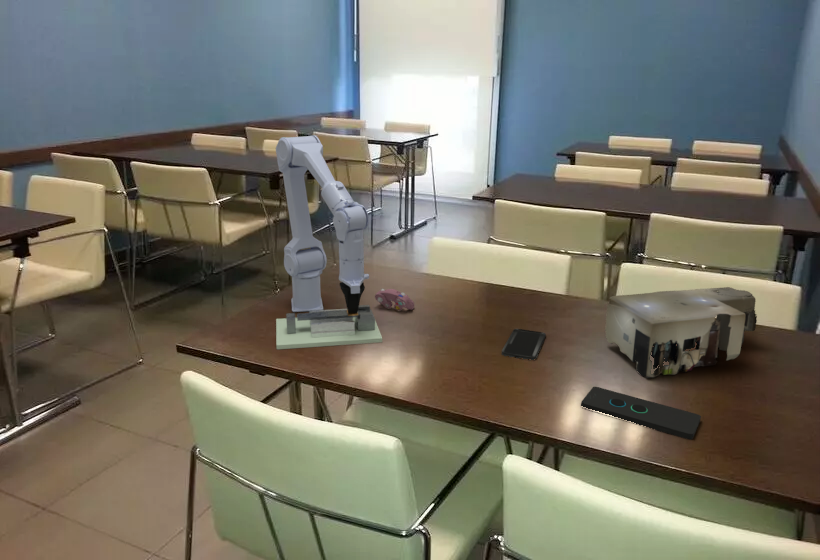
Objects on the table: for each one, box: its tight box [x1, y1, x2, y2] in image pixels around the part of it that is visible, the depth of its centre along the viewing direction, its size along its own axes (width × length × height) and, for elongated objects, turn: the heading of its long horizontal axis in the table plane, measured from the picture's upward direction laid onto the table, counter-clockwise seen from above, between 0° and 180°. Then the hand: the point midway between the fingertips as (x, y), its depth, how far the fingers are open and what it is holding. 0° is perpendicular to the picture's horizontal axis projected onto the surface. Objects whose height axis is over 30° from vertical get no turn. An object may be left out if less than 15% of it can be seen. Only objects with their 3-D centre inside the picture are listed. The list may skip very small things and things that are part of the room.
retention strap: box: [296, 310, 367, 321], centre depth 153 cm, size 3×16×1 cm, turn 101°
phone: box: [501, 328, 547, 361], centre depth 148 cm, size 8×1×15 cm
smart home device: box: [580, 386, 702, 440], centre depth 120 cm, size 8×2×20 cm
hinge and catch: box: [285, 304, 376, 334], centre depth 153 cm, size 6×20×4 cm, turn 101°
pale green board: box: [275, 317, 383, 350], centre depth 154 cm, size 16×24×1 cm, turn 101°
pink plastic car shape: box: [374, 288, 415, 312], centre depth 168 cm, size 10×5×7 cm, turn 63°
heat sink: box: [308, 308, 355, 338], centre depth 153 cm, size 10×10×3 cm
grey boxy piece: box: [604, 286, 758, 379], centre depth 142 cm, size 18×33×13 cm, turn 104°
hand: (352, 312), depth 153 cm, fingers closed, pressing on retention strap
